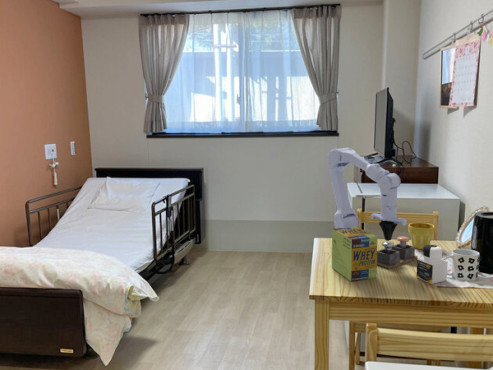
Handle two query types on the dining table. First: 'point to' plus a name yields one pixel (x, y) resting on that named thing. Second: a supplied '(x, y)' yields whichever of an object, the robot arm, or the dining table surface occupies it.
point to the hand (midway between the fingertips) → (388, 240)
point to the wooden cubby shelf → (396, 256)
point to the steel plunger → (387, 246)
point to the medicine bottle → (432, 265)
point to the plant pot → (420, 234)
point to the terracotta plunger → (403, 241)
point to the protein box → (354, 253)
